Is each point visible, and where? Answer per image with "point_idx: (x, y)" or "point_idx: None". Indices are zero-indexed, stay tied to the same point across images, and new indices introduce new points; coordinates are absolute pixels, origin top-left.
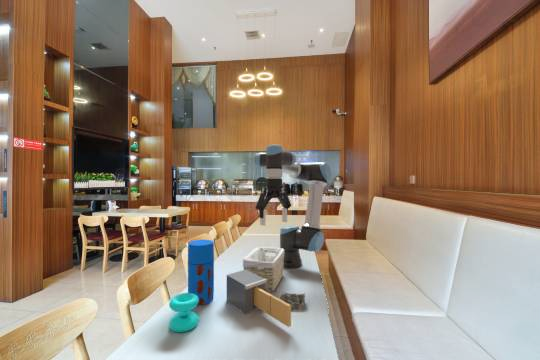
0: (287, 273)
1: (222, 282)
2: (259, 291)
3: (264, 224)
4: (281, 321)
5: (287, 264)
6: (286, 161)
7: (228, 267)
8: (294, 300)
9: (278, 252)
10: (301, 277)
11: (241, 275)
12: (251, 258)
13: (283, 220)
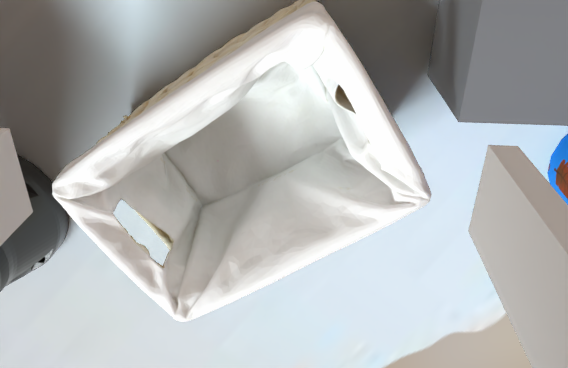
0: (89, 121)
1: (417, 241)
2: None
3: (515, 154)
4: None
5: (34, 182)
6: None
7: (289, 345)
8: None
9: (99, 196)
10: (51, 27)
11: (558, 56)
12: (319, 224)
13: (14, 195)
